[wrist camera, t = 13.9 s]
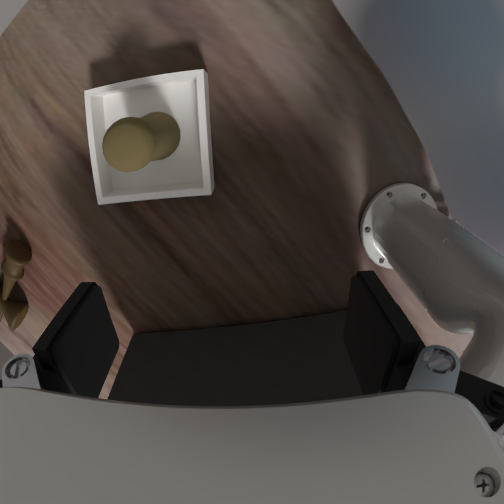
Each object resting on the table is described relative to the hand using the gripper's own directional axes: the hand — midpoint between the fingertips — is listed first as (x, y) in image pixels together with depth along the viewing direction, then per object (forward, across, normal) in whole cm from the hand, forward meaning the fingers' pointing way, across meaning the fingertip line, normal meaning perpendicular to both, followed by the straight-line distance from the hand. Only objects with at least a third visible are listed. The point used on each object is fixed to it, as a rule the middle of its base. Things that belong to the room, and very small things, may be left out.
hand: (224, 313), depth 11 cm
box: (+28, +10, -5) cm, 30 cm away
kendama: (+29, +42, +15) cm, 53 cm away
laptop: (+29, -1, +36) cm, 46 cm away
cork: (+28, +10, -5) cm, 30 cm away
